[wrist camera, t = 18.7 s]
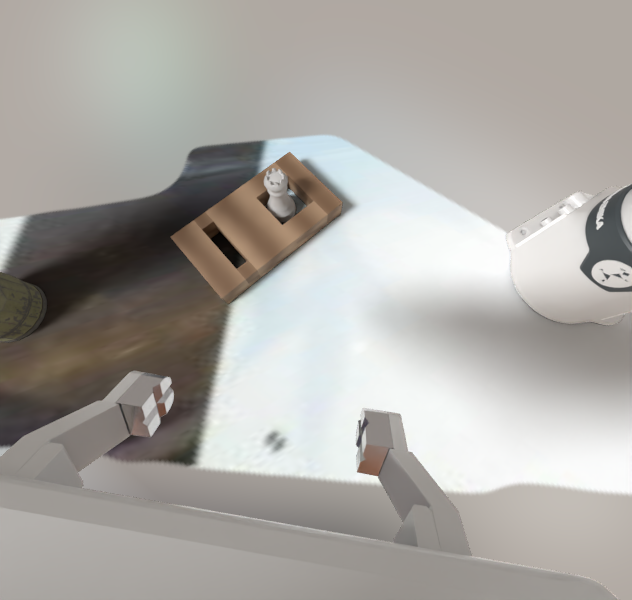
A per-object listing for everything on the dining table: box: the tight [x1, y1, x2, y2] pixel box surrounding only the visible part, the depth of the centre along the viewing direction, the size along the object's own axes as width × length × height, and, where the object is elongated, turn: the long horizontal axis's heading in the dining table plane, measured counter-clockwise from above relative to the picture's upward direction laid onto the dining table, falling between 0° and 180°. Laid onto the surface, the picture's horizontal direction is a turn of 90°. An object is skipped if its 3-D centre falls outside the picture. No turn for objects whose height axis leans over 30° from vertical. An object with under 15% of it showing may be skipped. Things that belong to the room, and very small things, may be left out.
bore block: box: [171, 152, 343, 304], centre depth 42 cm, size 22×12×3 cm, turn 132°
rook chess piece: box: [264, 168, 296, 222], centre depth 40 cm, size 4×4×8 cm
